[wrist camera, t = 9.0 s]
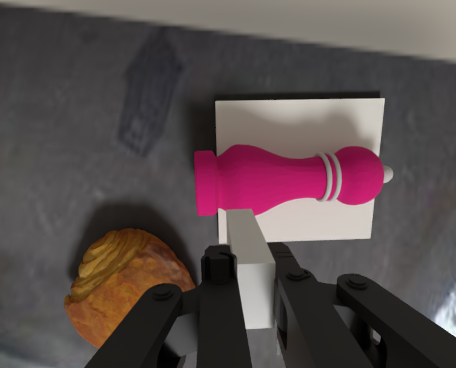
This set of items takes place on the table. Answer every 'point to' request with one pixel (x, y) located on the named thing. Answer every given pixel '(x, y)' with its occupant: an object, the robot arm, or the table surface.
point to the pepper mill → (284, 178)
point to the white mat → (299, 149)
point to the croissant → (119, 280)
